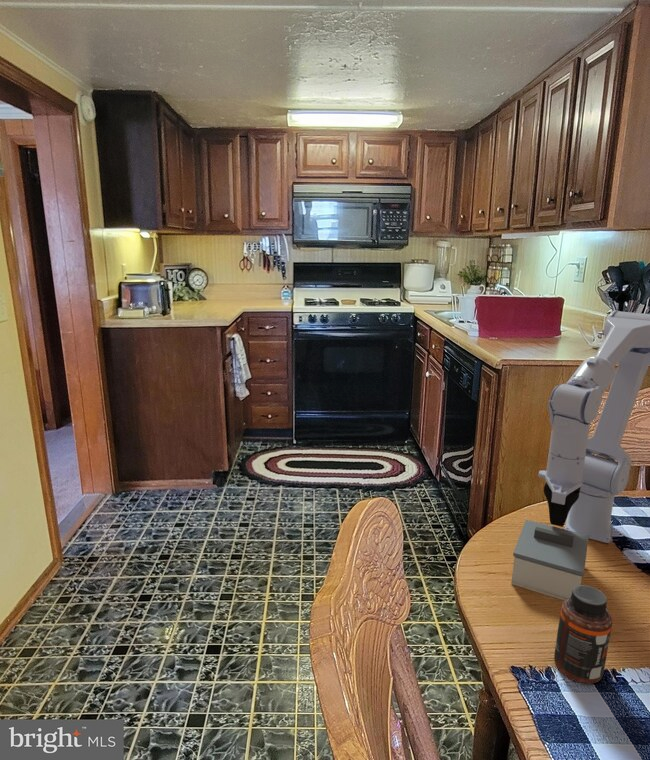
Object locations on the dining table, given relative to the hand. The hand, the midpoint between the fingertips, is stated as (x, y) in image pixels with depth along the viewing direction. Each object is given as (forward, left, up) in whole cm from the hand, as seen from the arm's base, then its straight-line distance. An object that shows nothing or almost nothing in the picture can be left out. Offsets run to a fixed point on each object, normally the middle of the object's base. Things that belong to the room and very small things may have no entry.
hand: (557, 523), depth 91 cm
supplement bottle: (+27, +6, -7) cm, 28 cm away
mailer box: (+7, 0, -6) cm, 9 cm away
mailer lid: (+6, 0, -1) cm, 7 cm away
